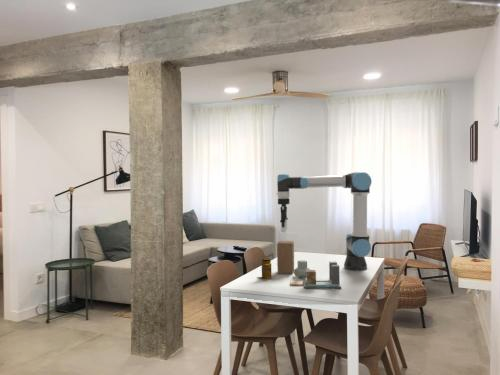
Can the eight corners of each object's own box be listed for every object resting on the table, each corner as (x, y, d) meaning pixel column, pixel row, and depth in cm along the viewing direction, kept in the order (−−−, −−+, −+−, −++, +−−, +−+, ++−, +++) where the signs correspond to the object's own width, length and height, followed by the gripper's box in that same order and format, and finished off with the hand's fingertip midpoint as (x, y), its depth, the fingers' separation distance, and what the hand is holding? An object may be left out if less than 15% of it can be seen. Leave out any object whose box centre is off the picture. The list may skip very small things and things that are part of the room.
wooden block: (292, 274, 266) (292, 243, 265) (277, 274, 268) (276, 242, 267) (294, 270, 275) (293, 240, 275) (279, 270, 277) (278, 240, 277)
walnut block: (315, 282, 237) (315, 269, 236) (316, 284, 232) (315, 271, 231) (306, 282, 237) (306, 269, 237) (307, 284, 232) (306, 271, 232)
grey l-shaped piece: (338, 285, 236) (338, 264, 236) (339, 288, 230) (339, 266, 230) (306, 285, 237) (306, 264, 237) (307, 288, 231) (306, 266, 231)
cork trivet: (302, 282, 244) (302, 281, 244) (303, 285, 237) (302, 284, 237) (290, 282, 244) (290, 281, 244) (290, 285, 237) (290, 284, 237)
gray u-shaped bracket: (336, 281, 245) (335, 261, 245) (337, 283, 239) (337, 263, 239) (305, 281, 246) (305, 261, 246) (306, 283, 240) (305, 263, 240)
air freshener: (292, 276, 261) (292, 260, 261) (304, 274, 265) (303, 259, 264) (301, 279, 251) (300, 263, 251) (312, 278, 254) (312, 262, 254)
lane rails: (336, 280, 247) (336, 278, 247) (341, 288, 229) (341, 286, 229) (302, 280, 248) (302, 278, 248) (304, 288, 230) (304, 286, 230)
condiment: (274, 278, 255) (273, 259, 255) (261, 280, 251) (261, 260, 251) (268, 276, 262) (268, 257, 261) (256, 278, 258) (256, 258, 258)
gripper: (279, 197, 282) (279, 228, 282) (276, 199, 257) (276, 233, 257) (290, 197, 280) (291, 228, 281) (288, 199, 256) (288, 233, 256)
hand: (284, 231), depth 269 cm, fingers open, 13 cm apart
